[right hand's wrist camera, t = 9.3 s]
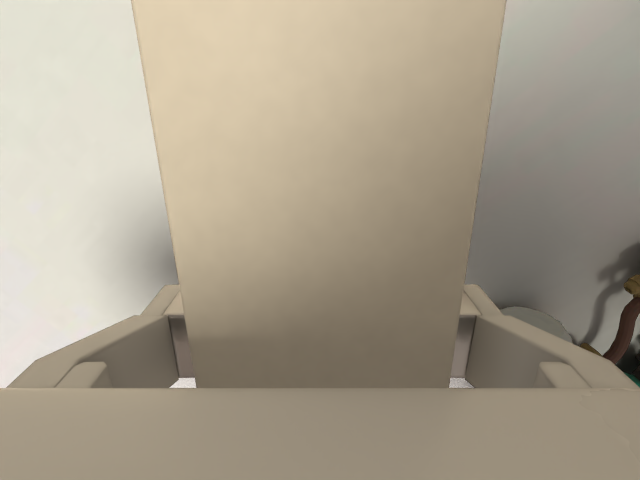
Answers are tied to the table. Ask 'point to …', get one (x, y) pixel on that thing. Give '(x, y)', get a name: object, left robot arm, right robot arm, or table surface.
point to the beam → (320, 181)
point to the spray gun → (635, 286)
